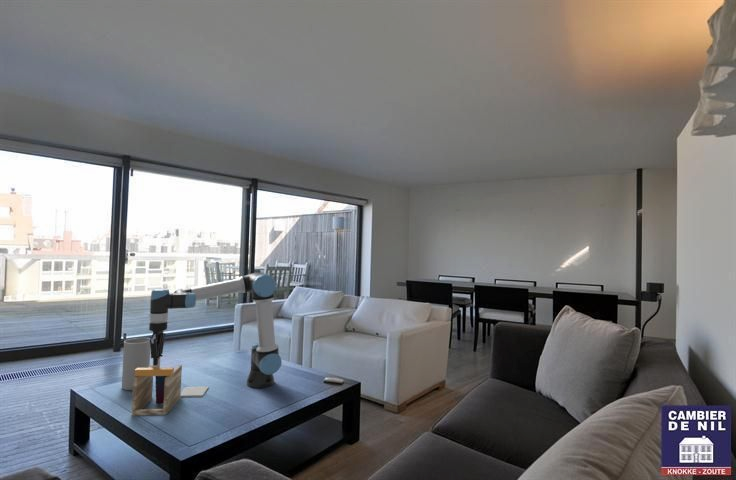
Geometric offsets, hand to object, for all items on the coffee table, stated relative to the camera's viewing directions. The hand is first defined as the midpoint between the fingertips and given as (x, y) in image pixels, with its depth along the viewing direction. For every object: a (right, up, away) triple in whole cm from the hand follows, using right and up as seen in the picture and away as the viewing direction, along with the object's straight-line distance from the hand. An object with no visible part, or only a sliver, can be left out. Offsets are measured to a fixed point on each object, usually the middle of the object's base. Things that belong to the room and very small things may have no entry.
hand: (156, 371), depth 180 cm
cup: (-2, -18, +9) cm, 20 cm away
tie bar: (0, -1, -2) cm, 2 cm away
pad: (+8, -19, +21) cm, 29 cm away
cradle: (-1, -18, +3) cm, 18 cm away
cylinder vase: (-26, -18, +26) cm, 41 cm away
